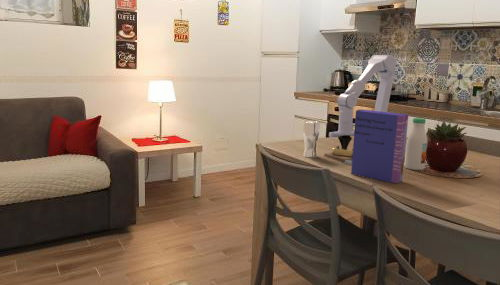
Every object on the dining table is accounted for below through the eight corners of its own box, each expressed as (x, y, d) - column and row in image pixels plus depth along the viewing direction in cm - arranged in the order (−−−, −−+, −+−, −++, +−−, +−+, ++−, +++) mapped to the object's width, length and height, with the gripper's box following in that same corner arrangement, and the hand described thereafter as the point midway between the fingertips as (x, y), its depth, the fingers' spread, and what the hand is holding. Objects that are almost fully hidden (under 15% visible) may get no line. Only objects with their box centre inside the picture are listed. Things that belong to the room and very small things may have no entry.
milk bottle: (414, 171, 172) (420, 120, 168) (399, 166, 179) (404, 117, 175) (428, 169, 176) (434, 119, 172) (413, 165, 183) (418, 116, 179)
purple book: (401, 181, 158) (408, 114, 153) (396, 183, 154) (403, 115, 150) (357, 172, 169) (362, 109, 164) (351, 174, 165) (356, 110, 161)
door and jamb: (356, 152, 203) (356, 143, 202) (399, 165, 180) (400, 155, 180) (324, 155, 194) (324, 146, 194) (365, 170, 172) (366, 159, 171)
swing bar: (360, 155, 189) (361, 148, 189) (358, 157, 186) (359, 149, 185) (333, 152, 194) (333, 144, 194) (330, 154, 191) (331, 146, 191)
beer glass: (317, 158, 189) (320, 123, 187) (301, 157, 191) (303, 122, 188) (318, 154, 196) (320, 121, 193) (302, 153, 197) (304, 120, 195)
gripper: (335, 123, 184) (333, 155, 187) (365, 122, 189) (363, 153, 192) (327, 121, 191) (325, 152, 193) (356, 120, 195) (354, 150, 198)
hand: (343, 152), depth 193 cm, fingers closed, pressing on swing bar
